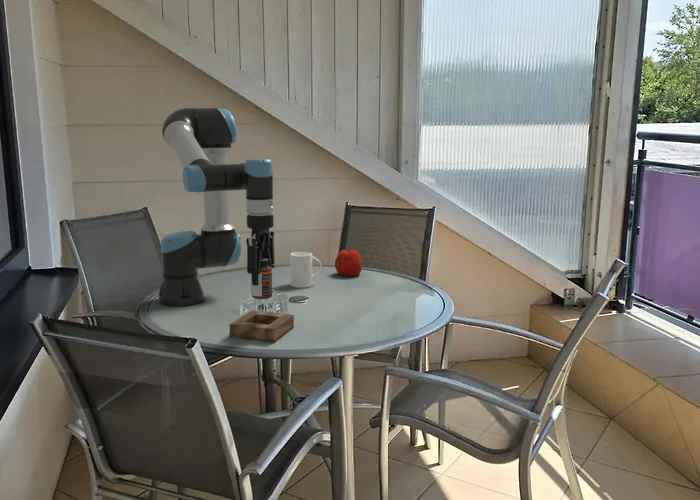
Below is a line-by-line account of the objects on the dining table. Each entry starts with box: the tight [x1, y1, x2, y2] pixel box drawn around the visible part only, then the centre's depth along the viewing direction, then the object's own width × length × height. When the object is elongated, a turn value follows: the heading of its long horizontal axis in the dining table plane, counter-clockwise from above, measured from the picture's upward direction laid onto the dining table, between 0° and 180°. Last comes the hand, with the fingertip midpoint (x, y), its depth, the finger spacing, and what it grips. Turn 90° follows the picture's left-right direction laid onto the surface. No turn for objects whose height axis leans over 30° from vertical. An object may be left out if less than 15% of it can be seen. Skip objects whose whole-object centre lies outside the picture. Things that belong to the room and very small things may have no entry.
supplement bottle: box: [250, 257, 273, 300], centre depth 187 cm, size 6×6×11 cm
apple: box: [334, 248, 363, 277], centre depth 259 cm, size 11×11×11 cm
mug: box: [289, 251, 323, 289], centre depth 243 cm, size 12×8×12 cm
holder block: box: [229, 310, 295, 344], centre depth 190 cm, size 14×14×4 cm
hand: (262, 292), depth 187 cm, fingers closed on supplement bottle, 6 cm apart
